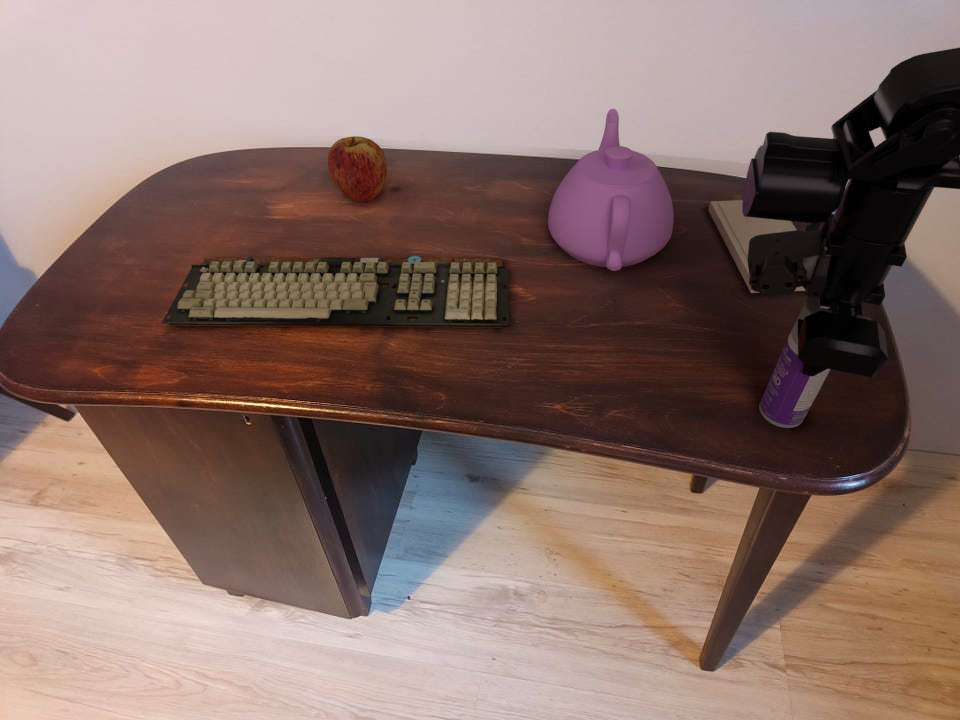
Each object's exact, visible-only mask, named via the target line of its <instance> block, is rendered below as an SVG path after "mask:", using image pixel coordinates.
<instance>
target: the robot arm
mask: <svg viewBox="0 0 960 720" xmlns="http://www.w3.org/2000/svg"><path fill="white" fill-rule="evenodd" d="M830 129H831V133H832V137H833V138H829V137H816V136H815V137H814V136H803V135H802V136H800V135H793V134H790V133H787V132H781V131H780V132H779V131H768V132H767V133H766V134H765V137H764V140H763V143H762V145H760V146H759V147H758V148H757V151H756V152H755V154H754V157H751V159H750V162H749V165H748V169H747V172H746V177H745V183H744V188H743V193H742V200H743V203H742V212H743V216H744V217H753V218H763V219H774V220H784V221H791V222H796V223H805V224H807V225H805V226H804V228H803V230H799V229H797V230H795V231H787V232H778V233H770V234H762V235H757V236H755V237H753V238H751V239H750V241H749V249H748V258H747V261H748V268H749V284H750V285H751V289H752V290H754V291H756V292H760V293H759V294H761V295H763V296H767V297H768V296H769V297H770V296H780V295H791V294H793V293H794V292H796V291H795V290H796V288H797V287H802V286H803V287H804V289H805V290H806V291H805V296H807V298H808V297H809V296H813V297H819V308H820V309H822V310H832V313H829V312H824V311H819V312H816V313H813V314H811V315H808V316H806V317H805V318H804V320H803V319H798V359H800V360H801V361H802V362H803V369H802V374H804V375H808V376H815V375H817V374H819V373H821V372H823V371H825V370H826V369H830V370H832V371H837V372H842V373H846V374H852V375H857V376H862V377H867V378H871V379H872V378H874V377H876V376H878V375H880V373H881V371H882V370H883V368H884V366H885V365H886V363H887V361H888V360H889V355H888V347H887V340H886V333H885V330H884V328H883V327H882V326H881V325H880V323H879V322H878V321H877V320H872V318H871V317H869V316H867V315H865V314H864V303H866V304H871V305H877V306H881V305H882V304H883V301H884V300H885V297H886V291H885V290H886V289H885V284H884V282H885V281H886V279H887V276H888V275H889V273H890V271H891V270H892V267H903V265H904V263H905V261H906V260H907V258H908V255H907V249H906V245H905V244H906V242H907V239H909V236H910V234H911V232H912V230H913V228H914V226H915V225H916V223H917V221H918V219H919V217H920V215H921V213H922V211H923V210H924V207H925V205H926V204H927V203H928V200H929V198H930V196H931V194H932V193H933V191H934V189H935V188H939V189H940V188H941V189H952V190H960V47H954V48H949V49H943V50H937V51H931V52H926V53H925V52H924V53H920V54H916V55H914V56H911V57H910V58H907V59H905V60H903V61H901V62H899V63H897V64H896V65H894V66H892V68H891V69H890V70H889V72H888V74H887V75H886V76H885V78H884V79H883V80H882V81H880V84H879V85H878V87H877V89H876V90H875V91H874V92H873V93H871V94H870V95H869V96H868V97H866V98H865V99H864V100H862V101H861V102H859V103H858V104H857V105H855V107H853V108H852V109H851V110H849V111H848V112H847V113H846V114H844V115H843V116H842V117H840V118H839V119H838V120H836V121H835V122H834V123H833V124H832V125H831V128H830ZM877 129H880V131H881V133H882V135H883V137H884V140H883V141H881V142H880V143H878V144H877V145H876V146H875V143H874V140H873V139H872V136H871V134H870V133H871V132H872V131H874V130H877ZM833 213H834V214H833Z"/></svg>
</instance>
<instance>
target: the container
mask: <svg viewBox="0 0 960 720" xmlns="http://www.w3.org/2000/svg"><path fill="white" fill-rule="evenodd" d="M819 311H824V312H829V313H832V310H822V309H820V308H819V297H813V296H809V297H808V296H807V298H806V300H805V302H804V304H803V306H802V308H801V310H800V312H799V315H798V316H797V319H796V321H795V323H794V325H793V327H792V329H791V331H790V333H789V335H788V337H787V339H786V342H785V344H784V346H783V348H782V351H781V353H780V355H779V358H778V360H777V362H776V365H775V367H774V369H773V371H772V374H771V376H770V379H769V380H768V383H767V386H766V388H765V390H764V392H763V395H762V397H761V400H760V402H759V404H758V409H759V412H760V414H761V416H762V417H763V419H765V421H767V422H768V423H770V424H772V425H774V426H776V427H780V428H784V429H790V428H791V429H792V428H796V427H798V426H800V425H801V424H802V423H803V422H804V420H805V418H806V416H807V415H808V413H809V411H810V409H811V407H812V405H813V403H814V401H815V399H816V398H817V396H818V394H819V392H820V390H821V388H822V386H823V384H824V382H825V380H826V378H827V377H828V375H829V373H830V371H831V369H826V370H825V371H823V372H821V373H819V374H817V375H815V376H808V375H804V374H802V369H803V362H802V361H801V360H800V359H798V319H803V320H804V318H805V317H806V316H808V315H811V314H813V313H816V312H819Z"/></svg>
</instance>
